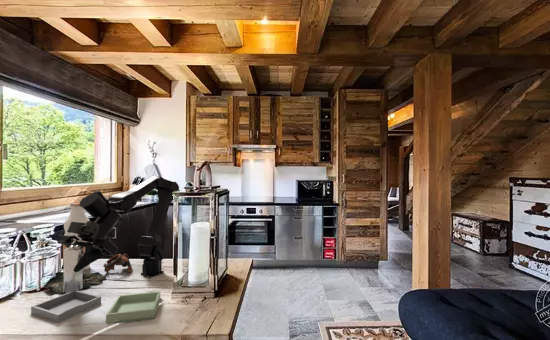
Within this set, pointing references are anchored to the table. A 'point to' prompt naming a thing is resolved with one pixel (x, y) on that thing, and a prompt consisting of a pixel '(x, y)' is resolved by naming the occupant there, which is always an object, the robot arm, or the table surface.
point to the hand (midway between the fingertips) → (68, 270)
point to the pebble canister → (71, 278)
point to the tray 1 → (65, 306)
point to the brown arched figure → (118, 262)
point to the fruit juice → (75, 216)
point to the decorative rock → (57, 282)
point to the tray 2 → (134, 307)
